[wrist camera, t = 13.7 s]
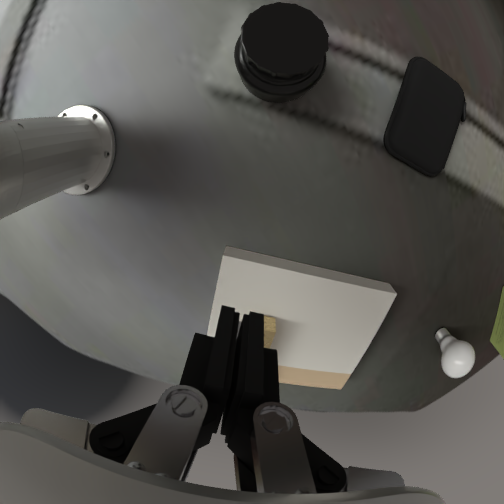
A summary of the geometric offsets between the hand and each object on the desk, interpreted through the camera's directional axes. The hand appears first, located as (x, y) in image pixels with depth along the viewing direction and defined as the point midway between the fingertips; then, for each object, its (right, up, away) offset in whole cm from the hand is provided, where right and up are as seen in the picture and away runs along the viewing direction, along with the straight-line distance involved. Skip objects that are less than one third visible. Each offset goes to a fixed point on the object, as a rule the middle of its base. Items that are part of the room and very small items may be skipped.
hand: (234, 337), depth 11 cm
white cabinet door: (+6, -8, +31) cm, 32 cm away
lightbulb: (+35, -11, +31) cm, 48 cm away
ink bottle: (+4, +25, +17) cm, 30 cm away
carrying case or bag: (+23, +21, +18) cm, 36 cm away
